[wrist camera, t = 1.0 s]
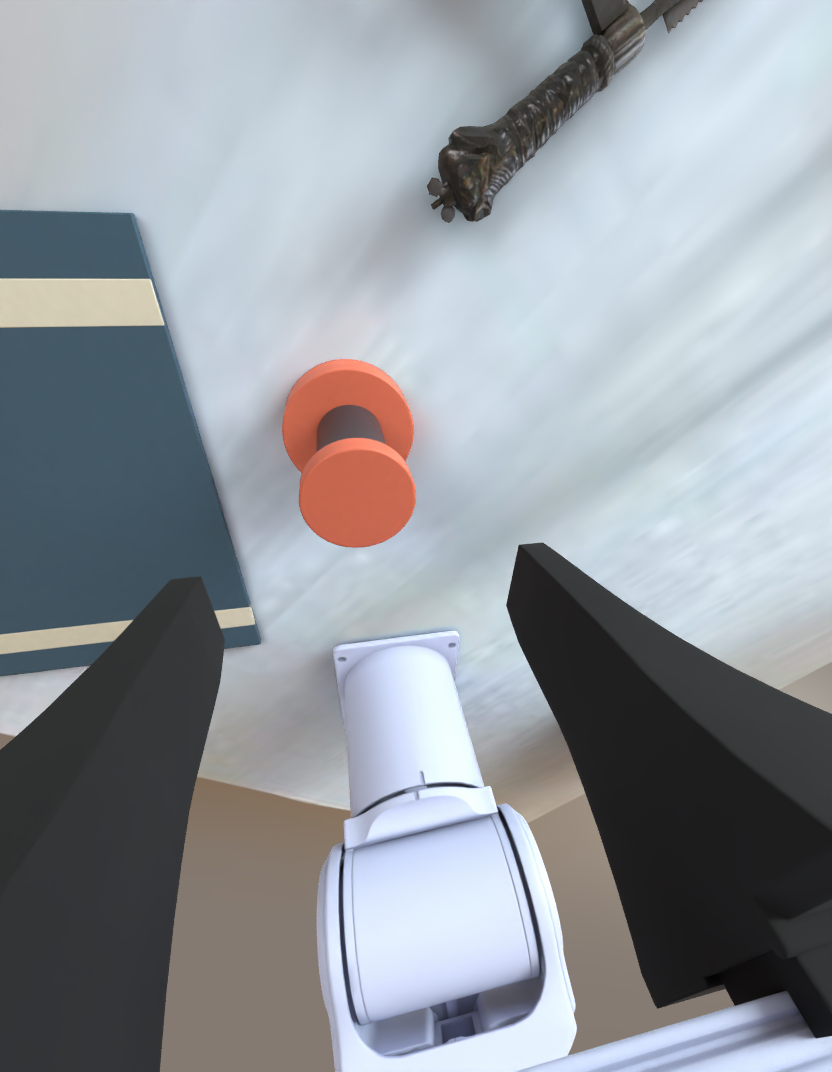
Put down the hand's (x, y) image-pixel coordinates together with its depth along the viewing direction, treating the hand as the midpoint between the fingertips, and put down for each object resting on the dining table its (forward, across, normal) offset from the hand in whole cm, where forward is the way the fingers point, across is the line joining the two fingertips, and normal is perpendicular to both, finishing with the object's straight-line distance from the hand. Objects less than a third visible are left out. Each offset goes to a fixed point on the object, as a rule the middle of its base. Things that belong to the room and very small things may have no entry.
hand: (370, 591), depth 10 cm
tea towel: (+10, +13, +3) cm, 17 cm away
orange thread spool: (+10, 0, 0) cm, 10 cm away
